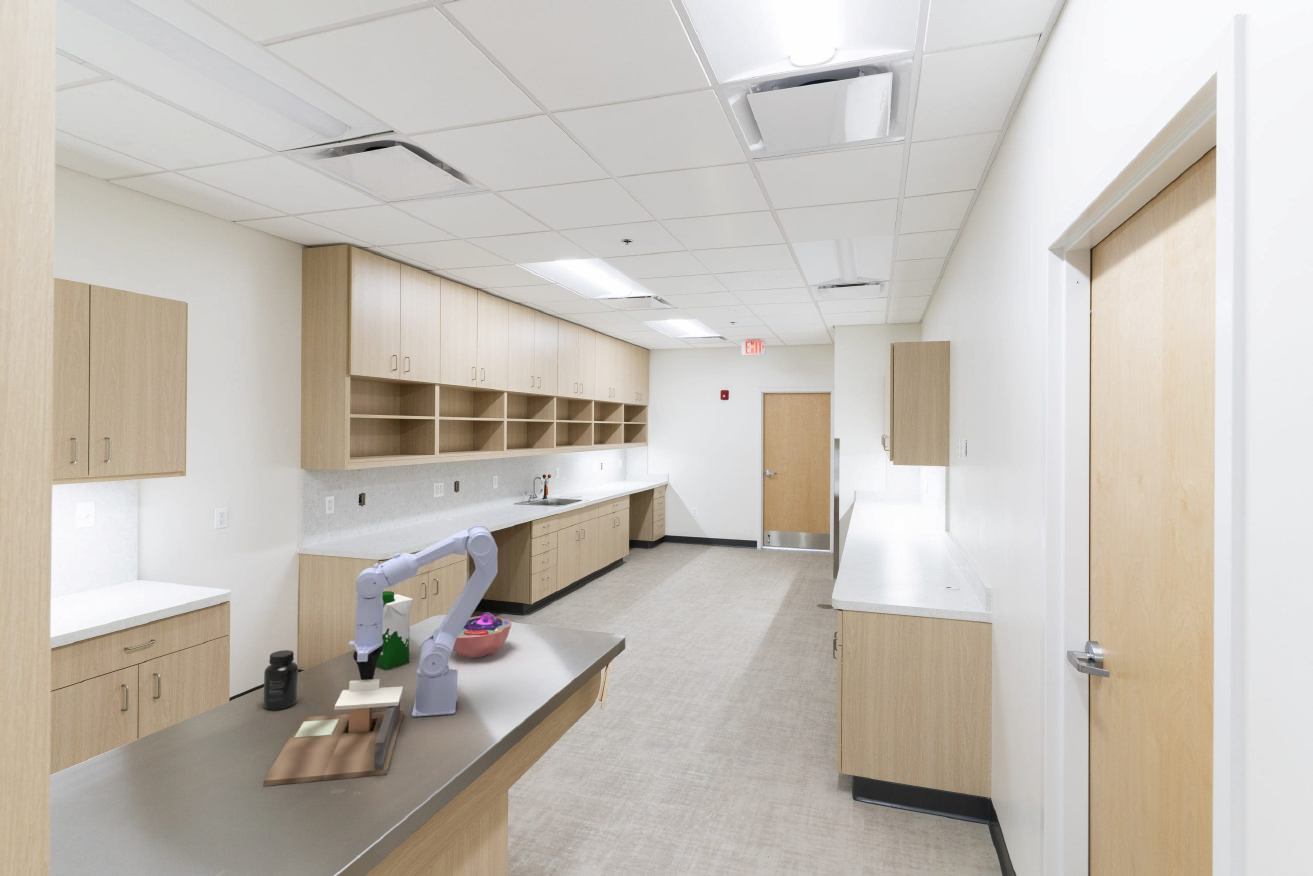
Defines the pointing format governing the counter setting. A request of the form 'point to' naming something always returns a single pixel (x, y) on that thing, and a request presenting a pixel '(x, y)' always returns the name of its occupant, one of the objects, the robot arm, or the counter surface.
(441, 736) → the counter surface
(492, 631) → the cell model
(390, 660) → the milk carton
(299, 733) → the board
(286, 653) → the supplement bottle
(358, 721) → the block
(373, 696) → the cover
